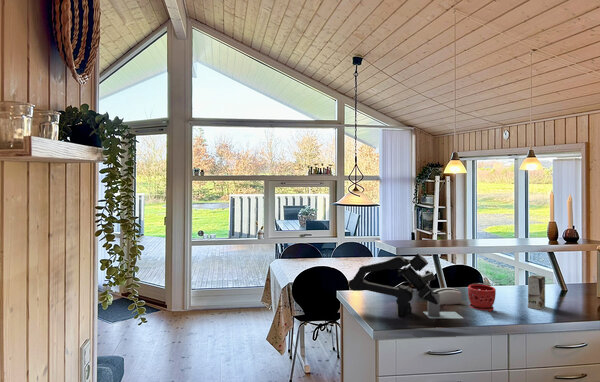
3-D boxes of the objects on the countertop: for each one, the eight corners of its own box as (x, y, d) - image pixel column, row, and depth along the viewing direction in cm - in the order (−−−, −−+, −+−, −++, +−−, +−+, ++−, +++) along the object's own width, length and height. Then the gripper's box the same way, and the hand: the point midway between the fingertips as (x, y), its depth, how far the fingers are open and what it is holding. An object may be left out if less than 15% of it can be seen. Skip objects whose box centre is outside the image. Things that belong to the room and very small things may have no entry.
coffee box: (541, 310, 217) (541, 278, 218) (527, 307, 222) (527, 277, 222) (545, 306, 224) (545, 276, 224) (532, 304, 228) (532, 274, 229)
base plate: (429, 321, 197) (429, 311, 197) (422, 314, 208) (422, 305, 208) (463, 321, 197) (463, 311, 197) (455, 314, 208) (455, 305, 208)
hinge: (456, 301, 234) (459, 285, 231) (460, 306, 230) (464, 290, 227) (428, 302, 231) (431, 286, 228) (432, 307, 227) (435, 291, 224)
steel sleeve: (428, 316, 201) (428, 294, 201) (427, 313, 206) (427, 291, 206) (439, 316, 199) (439, 294, 199) (438, 313, 204) (438, 292, 204)
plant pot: (462, 308, 220) (462, 285, 220) (481, 305, 225) (481, 283, 225) (482, 314, 208) (482, 290, 208) (501, 312, 213) (501, 288, 213)
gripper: (425, 269, 195) (451, 294, 192) (424, 263, 213) (447, 286, 210) (408, 285, 196) (432, 310, 194) (408, 277, 215) (430, 300, 212)
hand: (436, 301), depth 202 cm, fingers open, 9 cm apart
